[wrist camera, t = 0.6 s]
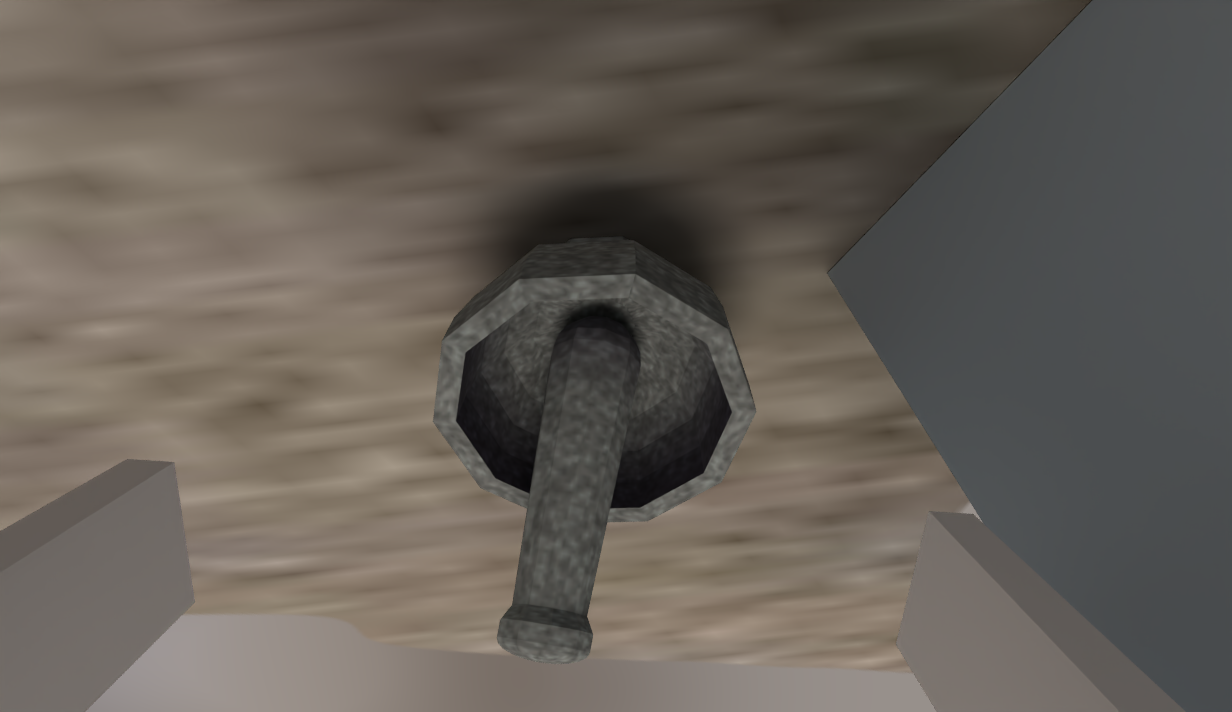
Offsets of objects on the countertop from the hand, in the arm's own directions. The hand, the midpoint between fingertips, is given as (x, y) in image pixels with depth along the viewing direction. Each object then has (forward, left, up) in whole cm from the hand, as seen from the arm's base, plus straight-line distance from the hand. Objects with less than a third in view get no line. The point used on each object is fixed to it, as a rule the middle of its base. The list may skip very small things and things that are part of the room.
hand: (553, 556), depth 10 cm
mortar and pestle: (+4, 0, -14) cm, 15 cm away
